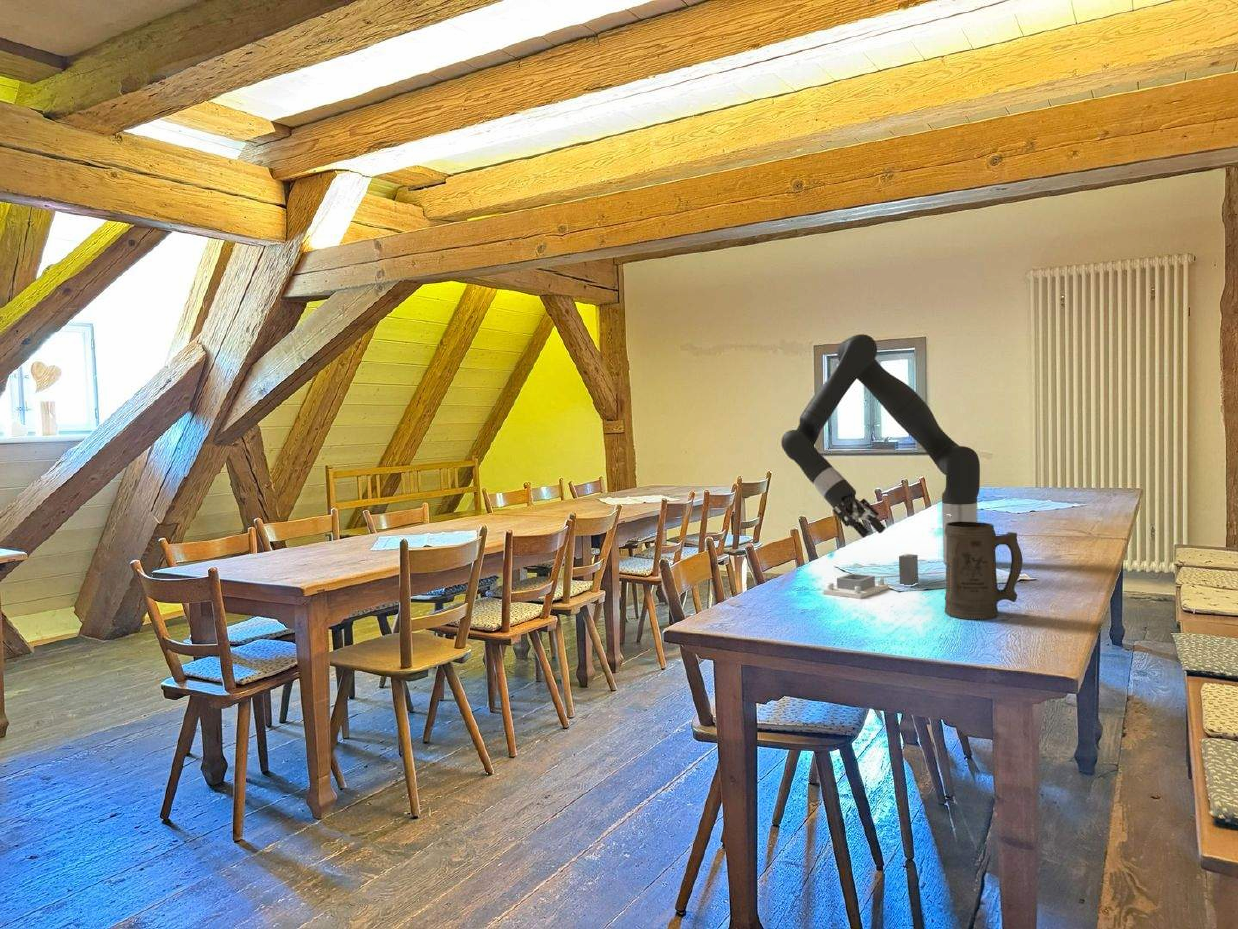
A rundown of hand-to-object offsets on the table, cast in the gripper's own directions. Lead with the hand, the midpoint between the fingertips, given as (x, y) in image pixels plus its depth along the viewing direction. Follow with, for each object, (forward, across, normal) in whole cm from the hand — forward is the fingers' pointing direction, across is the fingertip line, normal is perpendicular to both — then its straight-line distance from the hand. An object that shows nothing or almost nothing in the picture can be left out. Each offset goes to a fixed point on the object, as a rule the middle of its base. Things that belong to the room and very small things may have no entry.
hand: (874, 533), depth 219 cm
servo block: (+15, 0, +2) cm, 16 cm away
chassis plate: (+10, -13, +8) cm, 18 cm away
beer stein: (+34, -19, -16) cm, 42 cm away
